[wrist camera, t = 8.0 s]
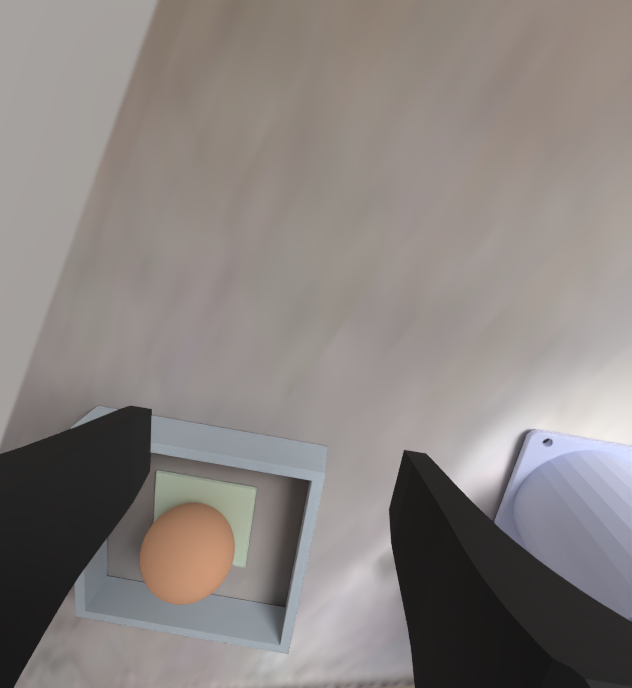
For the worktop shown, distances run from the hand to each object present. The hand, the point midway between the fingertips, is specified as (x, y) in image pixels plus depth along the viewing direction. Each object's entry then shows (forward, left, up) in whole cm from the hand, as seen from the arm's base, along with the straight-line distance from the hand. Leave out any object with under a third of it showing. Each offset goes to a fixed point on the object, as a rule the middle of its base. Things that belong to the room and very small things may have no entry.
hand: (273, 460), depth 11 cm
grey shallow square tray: (+4, +12, -10) cm, 17 cm away
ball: (+4, +12, -10) cm, 16 cm away
